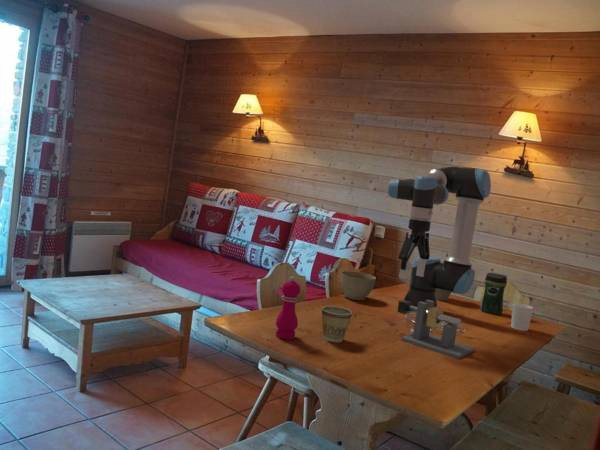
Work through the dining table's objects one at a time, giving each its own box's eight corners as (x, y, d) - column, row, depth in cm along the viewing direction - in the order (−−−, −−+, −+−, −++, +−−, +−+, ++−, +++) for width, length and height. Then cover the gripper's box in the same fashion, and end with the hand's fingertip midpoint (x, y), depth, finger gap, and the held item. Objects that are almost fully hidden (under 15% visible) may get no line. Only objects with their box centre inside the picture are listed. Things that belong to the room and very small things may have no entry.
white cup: (531, 332, 220) (535, 309, 219) (511, 329, 221) (515, 306, 220) (526, 327, 228) (530, 305, 227) (507, 324, 229) (511, 302, 228)
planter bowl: (364, 304, 232) (368, 280, 231) (331, 296, 240) (335, 273, 239) (378, 299, 246) (381, 276, 245) (346, 291, 254) (349, 269, 253)
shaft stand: (401, 339, 186) (406, 301, 185) (419, 333, 197) (424, 296, 195) (458, 358, 173) (465, 317, 172) (474, 351, 184) (480, 311, 182)
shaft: (397, 311, 192) (399, 301, 192) (402, 310, 196) (404, 300, 195) (456, 329, 179) (458, 317, 178) (461, 327, 182) (462, 316, 181)
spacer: (425, 325, 184) (428, 308, 184) (433, 323, 189) (435, 306, 188) (433, 327, 182) (436, 310, 182) (441, 325, 187) (443, 308, 187)
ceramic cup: (327, 345, 170) (331, 314, 169) (312, 334, 179) (316, 306, 178) (361, 343, 176) (365, 314, 175) (345, 333, 185) (349, 305, 184)
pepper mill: (273, 331, 177) (281, 273, 175) (295, 333, 177) (302, 275, 175) (274, 338, 169) (282, 277, 167) (296, 340, 170) (304, 280, 168)
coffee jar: (503, 313, 250) (509, 275, 248) (499, 316, 243) (506, 276, 241) (482, 308, 255) (488, 270, 253) (478, 311, 248) (484, 272, 246)
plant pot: (456, 299, 269) (461, 268, 267) (452, 304, 255) (457, 272, 254) (427, 293, 275) (431, 263, 273) (421, 298, 261) (426, 266, 259)
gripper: (414, 220, 178) (404, 282, 180) (444, 221, 198) (435, 277, 199) (394, 217, 182) (385, 277, 184) (425, 218, 202) (417, 272, 204)
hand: (411, 277), depth 192 cm, fingers open, 13 cm apart
